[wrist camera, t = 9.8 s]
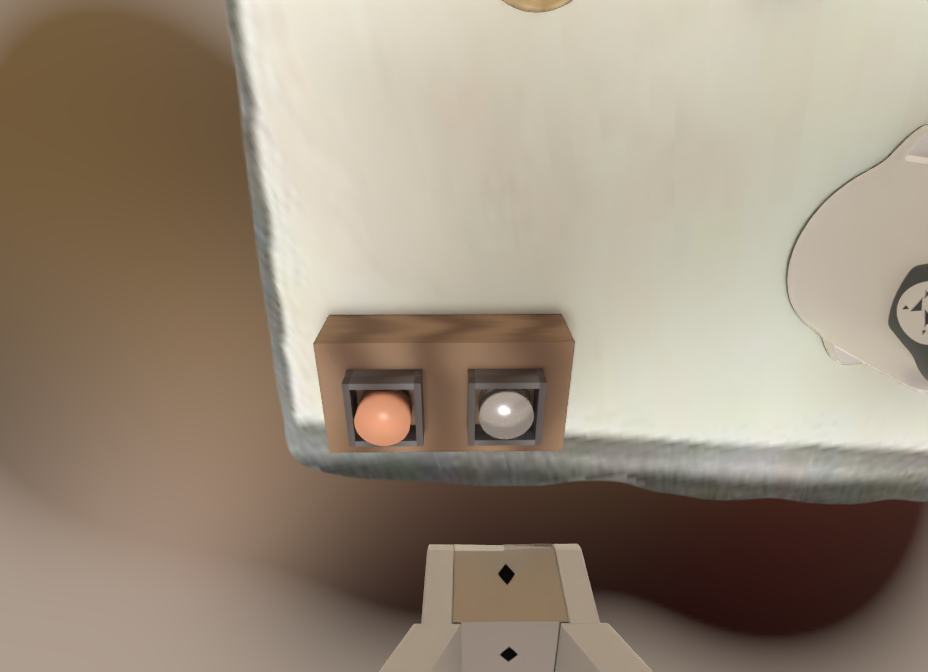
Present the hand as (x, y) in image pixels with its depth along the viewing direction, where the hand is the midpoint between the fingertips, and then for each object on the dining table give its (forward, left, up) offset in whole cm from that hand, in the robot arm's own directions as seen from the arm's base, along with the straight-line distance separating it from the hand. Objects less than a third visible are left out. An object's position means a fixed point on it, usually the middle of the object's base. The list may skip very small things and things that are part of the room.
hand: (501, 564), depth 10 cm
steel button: (-3, +13, -25) cm, 28 cm away
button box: (+2, +13, -30) cm, 33 cm away
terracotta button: (+6, +13, -24) cm, 28 cm away
